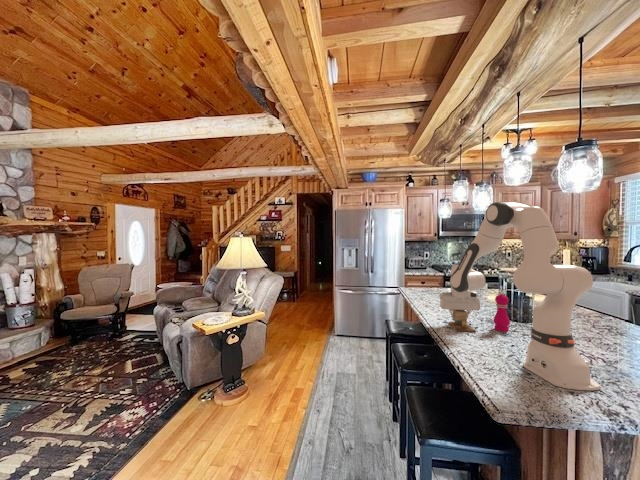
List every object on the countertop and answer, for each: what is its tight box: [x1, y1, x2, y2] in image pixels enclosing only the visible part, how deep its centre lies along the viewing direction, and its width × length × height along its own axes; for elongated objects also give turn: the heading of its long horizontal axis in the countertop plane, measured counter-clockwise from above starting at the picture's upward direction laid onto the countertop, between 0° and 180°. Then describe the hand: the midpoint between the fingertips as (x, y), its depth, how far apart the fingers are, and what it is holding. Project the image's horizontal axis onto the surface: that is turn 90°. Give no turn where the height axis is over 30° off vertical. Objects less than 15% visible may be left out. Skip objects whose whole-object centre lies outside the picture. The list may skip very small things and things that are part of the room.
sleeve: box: [452, 310, 468, 324], centre depth 158 cm, size 6×6×6 cm
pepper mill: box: [493, 291, 511, 333], centre depth 150 cm, size 7×7×20 cm
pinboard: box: [448, 320, 477, 333], centre depth 154 cm, size 14×9×5 cm, turn 172°
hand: (459, 317), depth 158 cm, fingers closed on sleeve, 6 cm apart
